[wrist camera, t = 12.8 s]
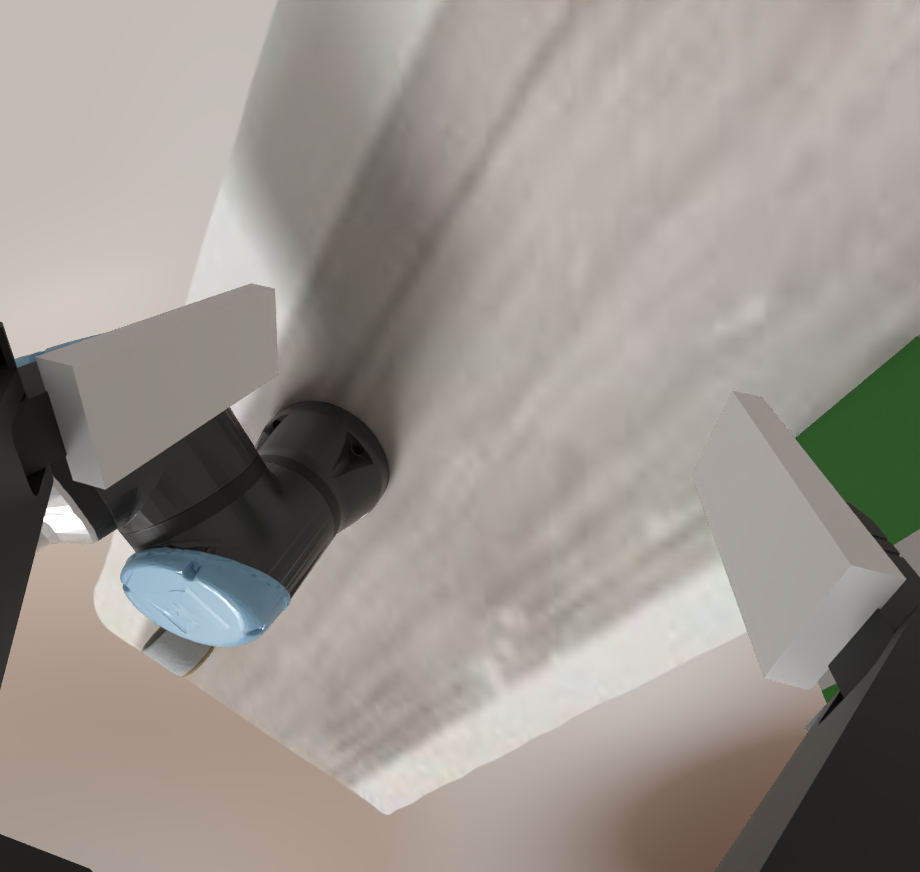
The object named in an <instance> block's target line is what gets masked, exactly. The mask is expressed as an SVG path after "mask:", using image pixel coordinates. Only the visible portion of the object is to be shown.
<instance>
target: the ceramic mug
mask: <svg viewBox="0 0 920 872" xmlns="http://www.w3.org/2000/svg"><path fill="white" fill-rule="evenodd" d="M214 647H215V646H210V645H205V644H200V643H197V642H194V641H191V640H189V639H185V638H183V637H180V636H178V635H176V634H174V633H172V632H170V631H168V630H166V629H164V628H162V627H160V628H159V629H158V630H157V631H156V632H155V633H154V634H153V635H152V636H151V638H150V639H149V640H148V641H147V642H146V644H145V645H144V647H143V649H142V652H143V653H144V654H146V655H147V656H149V657H150V658H152V659H153V660H155V661H156V662H158V663H159V664H161V665H162V666H164V667H165V668H167V669H168V670H170V671H171V672H173V673H174V674H177V675H179V676H181V677H185V676H188V675H190V674H192V673H193V672H194V671H196V670H197V669H198V668H199V667H200V666H201V665H202V664H203V663H204V661H205V660H206V659H207V658H208V657H209V655H210V654H211V652H212V651H213V649H214Z"/></svg>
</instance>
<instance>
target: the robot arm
mask: <svg viewBox="0 0 920 872" xmlns="http://www.w3.org/2000/svg"><path fill="white" fill-rule="evenodd" d="M277 375H278V357H277V331H276V304H275V289H273V288H269V287H264V286H260V285H255V284H248V285H245V286H242V287H239V288H236V289H234V290H231V291H228V292H225V293H222V294H219V295H216V296H213V297H210V298H207V299H204V300H201V301H198V302H195V303H192V304H189V305H186V306H183V307H180V308H177V309H175V310H172V311H169V312H166V313H163V314H160V315H157V316H154V317H151V318H148V319H145V320H142V321H139V322H136V323H133V324H130V325H127V326H124V327H122V328H118V329H115V330H113V331H110V332H107V333H103V334H99V335H95V336H90V337H86V338H82V339H79V340H75V341H71V342H67V343H64V344H61V345H57V346H54V347H51V348H47V349H46V350H45V351H43V352H37V353H34V354H31V355H27V356H22V357H19V358H16V359H14V356H13V353H12V350H11V347H10V344H9V341H8V338H7V335H6V332H5V329H4V326H3V323H2V322H0V688H1V684H2V680H3V676H4V672H5V669H6V665H7V661H8V657H9V653H10V649H11V645H12V641H13V637H14V634H15V629H16V626H17V622H18V618H19V614H20V610H21V606H22V603H23V598H24V595H25V591H26V587H27V583H28V579H29V575H30V572H31V567H32V564H33V559H34V556H35V553H37V552H38V551H40V550H42V549H43V548H45V547H47V546H48V545H50V544H56V543H79V544H94V543H95V542H97V541H99V540H100V539H102V538H103V537H105V536H106V535H108V534H109V533H111V532H113V531H114V530H116V529H118V530H119V532H120V533H121V534H122V535H123V537H124V538H125V539H126V540H127V542H128V543H129V544H130V545H131V546H132V548H133V549H134V550H135V552H136V553H134V554H133V555H132V556H131V557H129V558H128V559H127V561H126V564H125V566H124V567H123V569H122V571H121V575H120V579H121V583H123V590H124V593H125V594H126V596H127V597H128V599H129V600H130V601H131V603H132V604H133V605H134V606H135V607H136V608H137V609H138V610H139V611H140V612H141V613H143V614H144V615H145V616H146V617H148V618H149V619H150V620H152V621H153V622H154V623H156V624H157V625H159V626H161V627H162V628H164V629H166V630H168V631H170V632H172V633H174V634H176V635H178V636H180V637H183V638H185V639H189V640H191V641H194V642H197V643H200V644H205V645H210V646H217V647H234V646H240V645H244V644H247V643H250V642H252V641H254V640H256V639H257V638H259V637H260V636H261V635H262V634H263V633H264V632H265V631H266V630H267V629H268V628H269V626H270V625H271V624H272V623H273V622H274V621H275V619H276V618H277V617H278V616H279V615H280V614H281V612H282V611H284V610H285V609H286V608H287V607H288V605H289V603H290V601H291V598H292V597H293V595H294V594H295V592H296V591H297V590H298V588H299V587H300V585H301V584H302V582H303V581H304V580H305V578H306V577H307V575H308V574H309V572H310V571H311V570H312V568H313V567H314V565H315V564H316V562H317V561H318V560H319V558H320V557H321V555H322V554H323V552H324V551H325V550H326V548H327V547H328V545H329V544H330V542H331V541H332V539H333V538H334V537H335V535H336V534H337V533H339V532H340V531H342V530H343V529H345V528H347V527H348V526H350V525H351V524H353V523H354V522H356V521H357V520H359V519H361V518H363V517H364V516H366V515H367V514H368V513H369V512H370V511H371V510H372V509H373V508H374V507H375V506H376V504H377V503H378V501H379V500H380V498H381V497H382V495H383V493H384V491H385V489H386V486H387V483H388V464H387V460H386V456H385V453H384V451H383V449H382V447H381V445H380V443H379V441H378V440H377V438H376V437H375V435H374V434H373V433H372V432H371V431H370V429H369V428H368V427H367V426H366V425H365V424H364V423H363V422H361V421H360V420H359V419H358V418H356V417H355V416H354V415H352V414H350V413H349V412H347V411H345V410H343V409H341V408H339V407H337V406H334V405H331V404H327V403H322V402H313V401H309V402H300V403H296V404H293V405H291V406H289V407H287V408H286V409H284V410H283V411H281V412H280V413H279V414H278V415H276V416H275V417H274V418H273V419H271V420H270V421H269V423H268V424H267V425H266V426H265V428H264V429H263V431H262V433H261V435H260V437H259V439H258V441H257V443H256V445H255V447H254V445H253V443H252V442H251V440H250V439H249V437H248V436H247V434H246V432H245V431H244V429H243V428H242V426H241V425H240V423H239V421H238V420H237V418H236V417H235V415H234V414H233V412H232V410H231V409H230V406H232V405H233V404H235V403H236V402H238V401H239V400H241V399H242V398H244V397H245V396H247V395H248V394H250V393H251V392H253V391H254V390H256V389H257V388H259V387H260V386H262V385H263V384H265V383H266V382H268V381H269V380H271V379H272V378H274V377H275V376H277ZM692 478H693V481H694V484H695V486H696V489H697V492H698V495H699V498H700V500H701V503H702V506H703V509H704V512H705V514H706V517H707V520H708V523H709V526H710V528H711V531H712V534H713V537H714V540H715V542H716V545H717V548H718V551H719V554H720V556H721V559H722V562H723V565H724V568H725V570H726V573H727V576H728V579H729V582H730V584H731V587H732V590H733V593H734V596H735V598H736V601H737V604H738V607H739V610H740V612H741V615H742V618H743V621H744V623H745V626H746V629H747V632H748V635H749V637H750V640H751V643H752V646H753V648H754V651H755V654H756V657H757V660H758V663H759V665H760V668H761V671H762V674H763V677H764V678H767V679H770V680H774V681H778V682H781V683H784V684H788V685H791V686H795V687H798V688H802V689H805V690H809V691H810V690H811V688H812V687H813V686H814V685H815V684H816V683H817V681H818V680H819V679H820V678H821V677H822V676H823V675H824V673H825V672H826V671H827V670H828V669H829V670H830V672H831V674H832V676H833V678H834V680H835V682H836V684H837V686H838V688H839V691H838V692H837V693H836V694H835V696H834V697H833V698H832V699H831V700H830V701H829V702H828V703H827V704H826V705H825V706H824V707H823V709H822V710H821V711H820V712H819V713H818V714H817V715H816V716H815V717H814V718H813V720H811V722H810V723H809V724H808V725H807V726H806V727H805V729H806V730H807V731H808V733H807V734H806V736H805V737H804V739H803V740H802V742H801V743H800V745H799V746H798V748H797V749H796V751H795V752H794V754H793V755H792V757H791V758H790V760H789V761H788V763H787V764H786V766H785V767H784V769H783V770H782V772H781V773H780V775H779V776H778V778H777V779H776V781H775V782H774V784H773V785H772V787H771V788H770V790H769V791H768V793H767V794H766V796H765V797H764V798H763V800H762V802H761V803H760V805H759V806H758V807H757V809H756V810H755V812H754V813H753V815H752V816H751V818H750V819H749V821H748V822H747V824H746V826H745V827H744V828H743V830H742V831H741V833H740V834H739V836H738V837H737V839H736V840H735V842H734V843H733V845H732V846H731V848H730V849H729V851H728V852H727V854H726V855H725V857H724V858H723V860H722V861H721V863H720V864H719V866H718V867H717V868H716V870H715V871H714V872H920V577H919V576H918V574H917V573H916V572H915V571H914V570H913V568H912V567H911V566H910V565H909V564H908V562H907V561H906V560H905V559H904V558H903V557H900V556H899V555H900V553H899V552H898V550H897V549H896V548H895V547H894V546H893V544H892V543H891V542H888V541H887V539H888V538H887V537H886V536H885V535H884V533H883V532H882V531H881V530H880V529H879V527H878V526H877V525H876V524H875V523H874V521H873V520H871V519H870V518H869V517H867V516H866V515H865V514H864V513H862V512H861V511H860V510H858V509H857V508H856V507H854V506H853V505H852V504H851V503H848V502H845V501H844V500H843V499H842V497H841V496H840V495H839V494H838V492H837V491H836V490H835V488H834V487H833V486H832V485H831V483H830V482H829V481H828V480H827V478H826V477H825V476H824V475H823V473H822V472H821V471H820V470H819V468H818V467H817V466H816V465H815V463H814V462H813V461H812V459H811V458H810V457H809V456H808V454H807V453H806V452H805V451H804V449H803V448H802V447H801V446H800V444H799V443H798V442H797V441H796V439H795V438H794V437H793V436H792V434H791V433H790V432H789V430H788V429H787V428H786V427H785V425H784V424H783V423H782V422H781V420H780V419H779V418H778V417H777V415H776V414H775V413H774V412H773V410H772V409H771V408H770V407H769V405H768V404H767V403H766V401H765V400H764V399H763V398H762V397H758V396H753V395H749V394H744V393H740V392H735V391H732V393H731V395H730V397H729V399H728V401H727V403H726V405H725V407H724V409H723V411H722V413H721V415H720V417H719V420H718V422H717V424H716V426H715V428H714V430H713V432H712V434H711V436H710V438H709V440H708V442H707V444H706V446H705V449H704V451H703V453H702V455H701V457H700V459H699V461H698V463H697V465H696V467H695V469H694V471H693V473H692ZM0 872H92V871H91V870H90V869H89V868H86V867H84V866H81V865H79V864H76V863H73V862H71V861H68V860H66V859H63V858H60V857H58V856H55V855H53V854H50V853H48V852H45V851H42V850H40V849H37V848H35V847H32V846H30V845H27V844H24V843H22V842H19V841H16V840H14V839H11V838H9V837H6V836H4V835H1V834H0Z"/></svg>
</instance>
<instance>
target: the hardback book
mask: <svg viewBox="0 0 920 872" xmlns="http://www.w3.org/2000/svg"><path fill="white" fill-rule="evenodd" d="M795 439H796V441H797V442H798V443H799V444H800V446H801V447H802V448H803V449H804V451H805V452H806V453H807V454H808V456H809V457H810V458H811V459H812V461H813V462H814V463H815V465H816V466H817V467H818V468H819V470H820V471H821V472H822V473H823V475H824V476H825V477H826V478H827V480H828V481H829V482H830V483H831V485H832V486H833V487H834V488H835V490H836V491H837V492H838V494H839V495H840V496H841V497H842V499H843V500H844V501H845V502H848V503H851V504H852V505H853V506H854V507H856V508H857V509H858V510H860V511H861V512H862V513H864V514H865V515H866V516H867V517H869V518H870V519H871V520H873V521H874V523H875V524H876V525H877V526H878V527H879V529H880V530H881V531H882V532H883V533H884V535H885V536H886V537H887V538H888V539H887V541H888V542H891V543H892V544H893V546H894V547H895V548H896V549H897V550H898V552H899V553H900V555H899V556H900V557H903V558H904V559H905V560H906V561H907V562H908V564H909V565H910V566H911V567H912V568H913V570H914V571H915V572H916V573H917V574H918V576H919V577H920V338H919V337H916V338H915V339H913V340H912V341H911V342H910V343H909V344H907V345H906V346H905V347H904V348H903V349H901V350H900V351H899V352H898V353H897V354H895V355H894V356H893V357H892V358H891V359H889V360H888V361H887V362H886V363H885V364H883V365H882V366H881V367H880V368H879V369H877V370H876V371H875V372H874V373H873V374H871V375H870V376H869V377H868V378H867V379H866V380H864V381H863V382H862V383H861V384H860V385H858V386H857V387H856V388H855V389H854V390H852V391H851V392H850V393H849V394H848V395H846V396H845V397H844V398H843V399H842V400H840V401H839V402H838V403H837V404H836V405H834V406H833V407H832V408H831V409H830V410H828V411H827V412H826V413H825V414H824V415H822V416H821V417H820V418H819V419H818V420H817V421H815V422H814V423H813V424H812V425H811V426H809V427H808V428H807V429H806V430H805V431H803V432H802V433H801V434H800V435H799V436H797V437H796V438H795ZM818 683H819V686H820V688H821V691H822V693H823V695H824V698H825V700H826V702H827V703H828V702H829V701H830V700H831V699H832V698H833V697H834V696H835V694H836V693H837V692H838V691H839V688H838V686H837V684H836V682H835V680H834V678H833V676H832V674H831V672H830V670H829V669H828V670H827V671H826V672H825V673H824V675H823V676H822V677H821V678H820V679H819V680H818Z"/></svg>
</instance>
